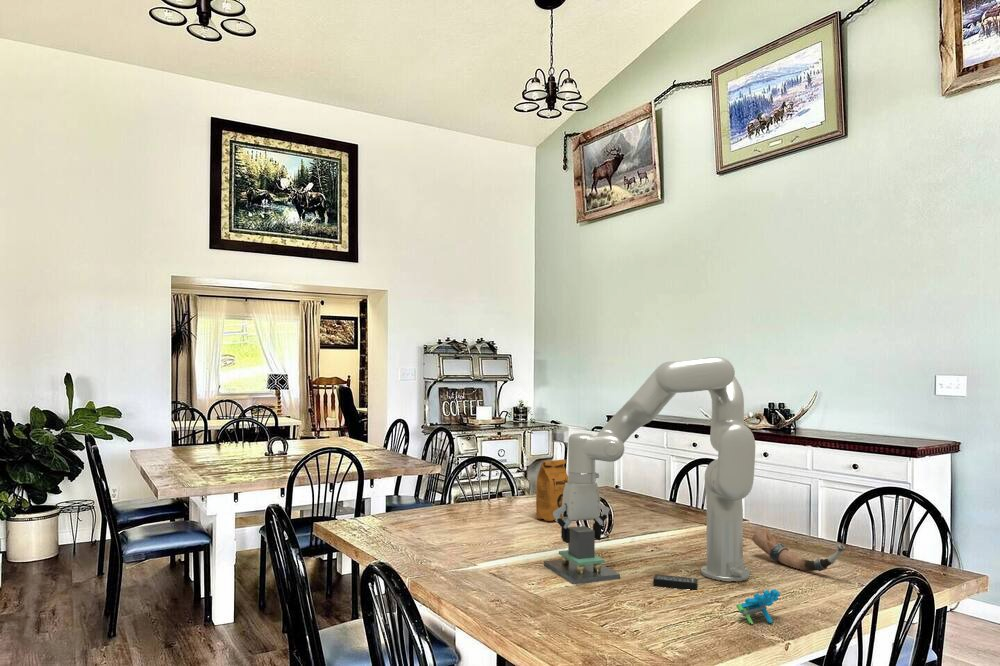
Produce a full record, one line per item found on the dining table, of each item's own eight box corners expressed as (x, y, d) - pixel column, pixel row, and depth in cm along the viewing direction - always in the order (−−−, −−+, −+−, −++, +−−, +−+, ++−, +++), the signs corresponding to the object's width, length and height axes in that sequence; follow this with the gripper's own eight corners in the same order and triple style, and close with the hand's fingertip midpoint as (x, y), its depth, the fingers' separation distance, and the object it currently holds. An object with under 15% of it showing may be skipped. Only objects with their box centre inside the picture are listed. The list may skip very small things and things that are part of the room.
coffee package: (575, 520, 255) (576, 460, 256) (548, 524, 248) (548, 462, 249) (559, 515, 263) (560, 457, 264) (532, 518, 257) (533, 459, 258)
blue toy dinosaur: (767, 603, 163) (783, 582, 156) (781, 627, 159) (798, 607, 152) (726, 613, 160) (741, 593, 153) (740, 638, 155) (755, 618, 149)
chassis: (620, 578, 185) (620, 564, 185) (573, 584, 180) (573, 569, 180) (587, 560, 202) (587, 548, 202) (544, 565, 197) (544, 552, 197)
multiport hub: (654, 582, 184) (654, 573, 184) (697, 587, 180) (697, 578, 180) (653, 587, 179) (653, 578, 179) (697, 592, 176) (697, 583, 176)
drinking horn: (761, 554, 211) (761, 521, 212) (851, 582, 185) (851, 544, 185) (748, 556, 208) (748, 523, 209) (838, 585, 182) (837, 546, 183)
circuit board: (604, 562, 187) (605, 533, 187) (578, 565, 184) (578, 535, 184) (583, 551, 198) (583, 523, 199) (558, 554, 195) (558, 525, 196)
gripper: (601, 474, 199) (601, 534, 198) (547, 477, 192) (547, 539, 192) (615, 478, 192) (615, 541, 191) (560, 482, 185) (559, 546, 185)
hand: (581, 540), depth 191 cm, fingers open, 9 cm apart
